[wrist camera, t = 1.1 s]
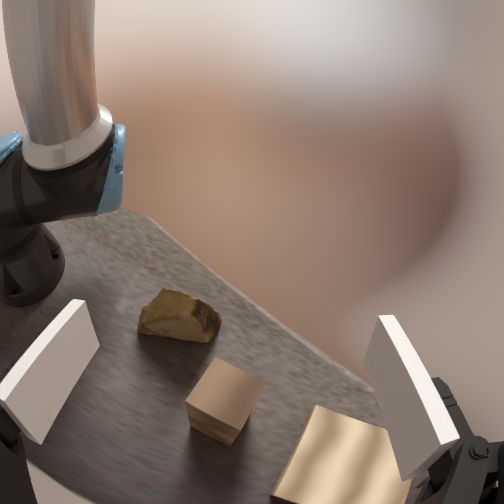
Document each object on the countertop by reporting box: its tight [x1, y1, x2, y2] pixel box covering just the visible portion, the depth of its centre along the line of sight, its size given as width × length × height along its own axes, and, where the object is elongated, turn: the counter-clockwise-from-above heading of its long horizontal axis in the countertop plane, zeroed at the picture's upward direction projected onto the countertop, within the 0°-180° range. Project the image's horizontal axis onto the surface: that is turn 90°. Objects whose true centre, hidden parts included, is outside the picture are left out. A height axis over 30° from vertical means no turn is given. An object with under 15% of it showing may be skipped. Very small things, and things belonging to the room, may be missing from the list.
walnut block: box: [185, 357, 267, 446], centre depth 24 cm, size 5×5×10 cm
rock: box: [137, 288, 222, 343], centre depth 34 cm, size 11×9×10 cm
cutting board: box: [270, 405, 412, 504], centre depth 23 cm, size 16×12×2 cm
